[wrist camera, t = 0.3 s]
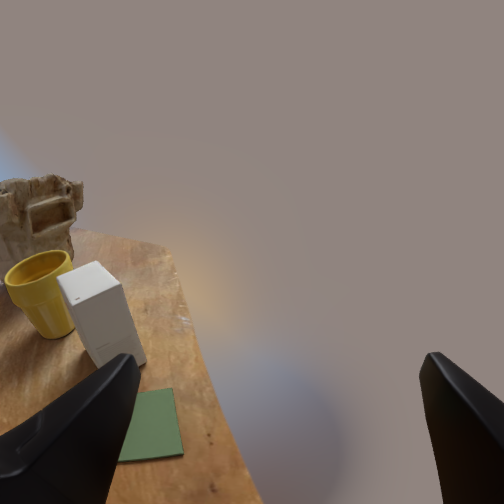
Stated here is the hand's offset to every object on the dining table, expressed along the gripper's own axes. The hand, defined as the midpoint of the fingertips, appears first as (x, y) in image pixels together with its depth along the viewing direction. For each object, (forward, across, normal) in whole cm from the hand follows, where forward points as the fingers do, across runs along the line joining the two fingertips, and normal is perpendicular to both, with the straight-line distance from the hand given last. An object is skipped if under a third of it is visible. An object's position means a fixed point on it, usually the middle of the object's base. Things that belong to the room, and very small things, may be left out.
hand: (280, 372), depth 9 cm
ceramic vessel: (+37, +46, +18) cm, 62 cm away
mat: (+8, +13, +18) cm, 23 cm away
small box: (+17, +20, +18) cm, 31 cm away
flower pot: (+21, +32, +18) cm, 42 cm away
